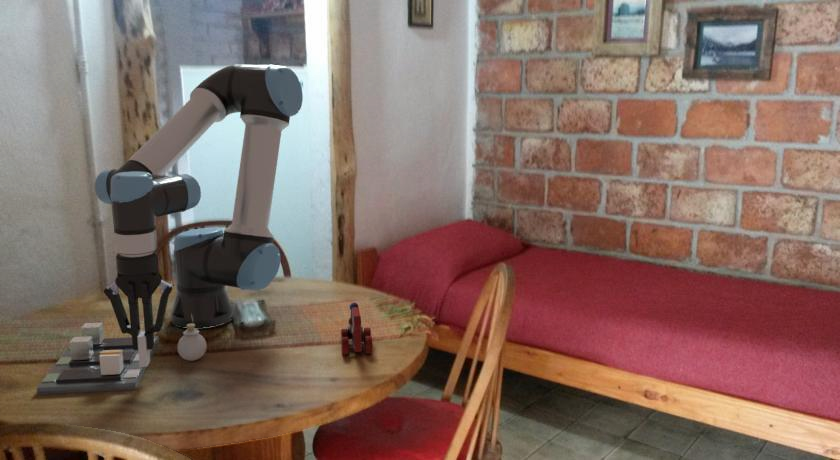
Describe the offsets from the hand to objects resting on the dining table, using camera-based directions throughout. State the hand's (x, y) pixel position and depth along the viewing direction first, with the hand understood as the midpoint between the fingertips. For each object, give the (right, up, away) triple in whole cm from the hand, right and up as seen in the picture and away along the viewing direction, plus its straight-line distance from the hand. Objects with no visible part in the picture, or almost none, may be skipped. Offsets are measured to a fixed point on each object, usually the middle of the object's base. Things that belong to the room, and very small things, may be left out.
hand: (144, 363), depth 137 cm
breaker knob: (-6, -1, -1) cm, 6 cm away
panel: (-12, -2, +7) cm, 13 cm away
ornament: (+6, -1, +12) cm, 13 cm away
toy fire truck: (+41, -1, +19) cm, 45 cm away
